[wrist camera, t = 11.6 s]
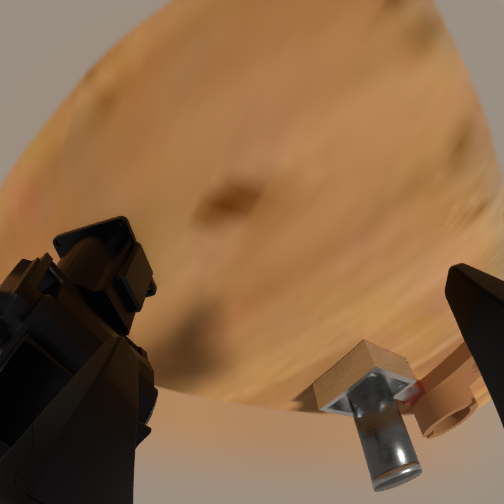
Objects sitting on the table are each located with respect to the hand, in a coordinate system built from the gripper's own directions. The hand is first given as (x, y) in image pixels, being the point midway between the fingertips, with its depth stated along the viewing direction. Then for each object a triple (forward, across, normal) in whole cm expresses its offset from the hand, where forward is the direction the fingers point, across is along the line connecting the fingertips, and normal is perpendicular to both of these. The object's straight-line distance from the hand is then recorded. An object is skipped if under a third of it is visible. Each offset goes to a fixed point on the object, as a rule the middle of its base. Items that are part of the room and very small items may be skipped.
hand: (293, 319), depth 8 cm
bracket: (+14, -22, +29) cm, 39 cm away
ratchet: (+13, -11, +27) cm, 31 cm away
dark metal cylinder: (+11, -7, +23) cm, 26 cm away
